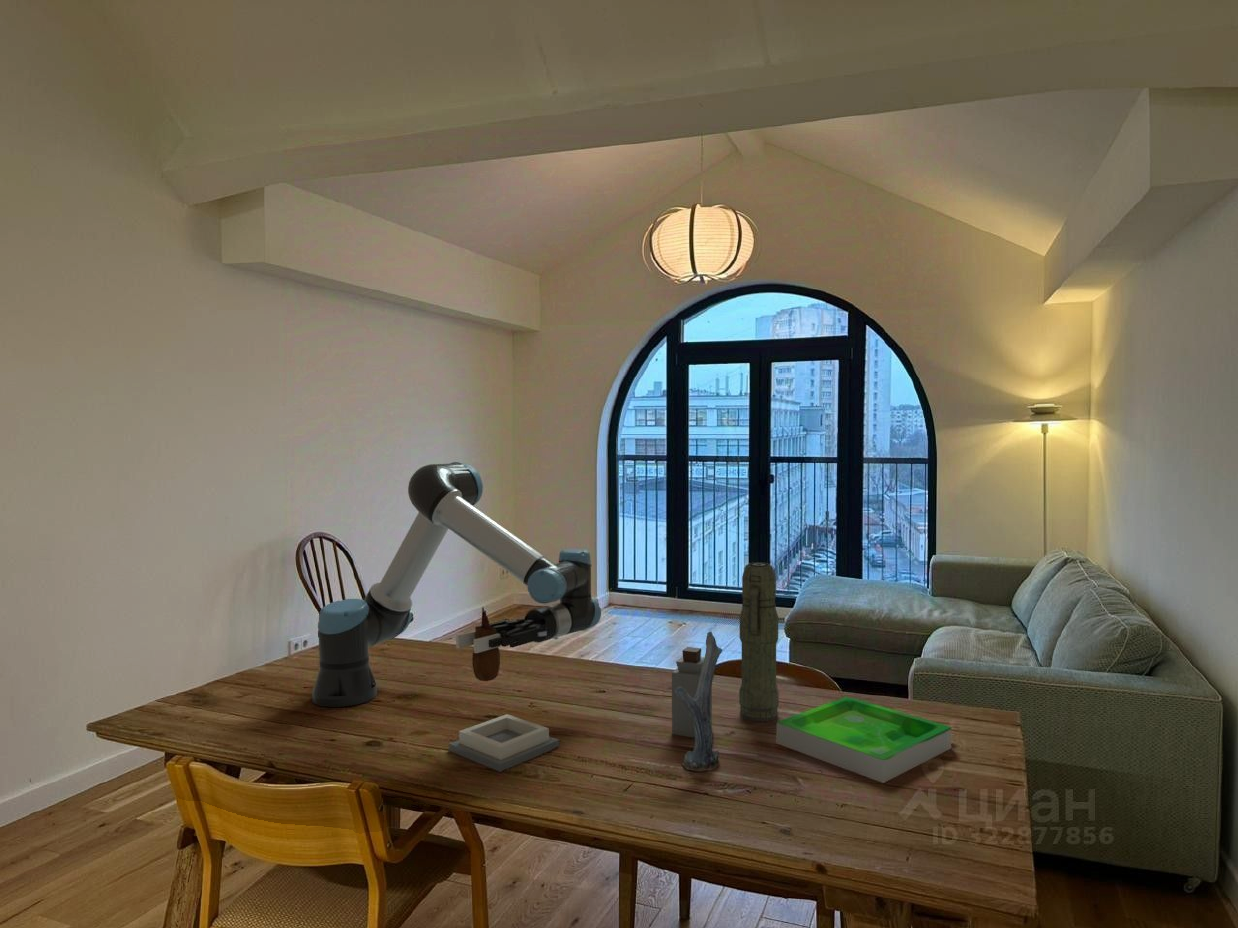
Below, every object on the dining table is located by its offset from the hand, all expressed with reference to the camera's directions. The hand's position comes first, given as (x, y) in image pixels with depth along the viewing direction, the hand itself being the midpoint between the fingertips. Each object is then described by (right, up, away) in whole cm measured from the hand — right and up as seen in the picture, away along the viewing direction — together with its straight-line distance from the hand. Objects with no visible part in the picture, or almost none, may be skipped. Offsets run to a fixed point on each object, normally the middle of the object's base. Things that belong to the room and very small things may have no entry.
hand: (466, 644), depth 165 cm
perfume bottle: (+48, -21, +10) cm, 53 cm away
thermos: (+64, -21, +19) cm, 70 cm away
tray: (+82, -22, +1) cm, 85 cm away
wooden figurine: (+4, -9, +4) cm, 10 cm away
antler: (+48, -22, -7) cm, 53 cm away
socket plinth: (+8, -22, 0) cm, 23 cm away
